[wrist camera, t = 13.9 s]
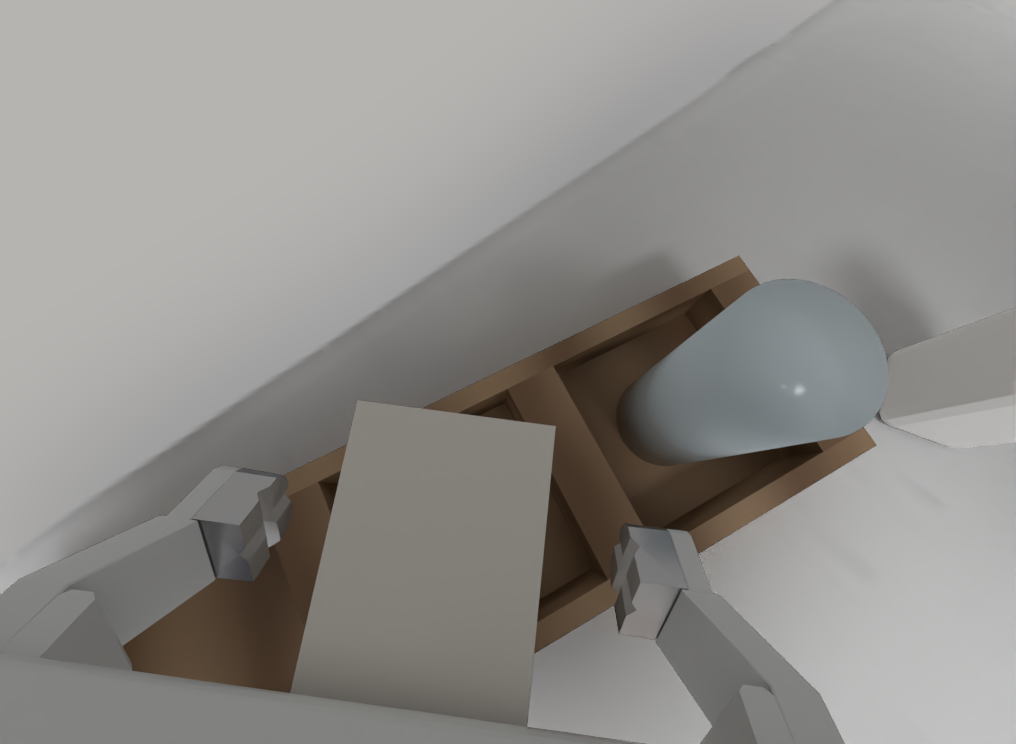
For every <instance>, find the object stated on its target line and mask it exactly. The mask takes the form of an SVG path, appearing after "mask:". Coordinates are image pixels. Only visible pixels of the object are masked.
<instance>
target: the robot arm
mask: <svg viewBox="0 0 1016 744" xmlns="http://www.w3.org/2000/svg"><path fill="white" fill-rule="evenodd" d="M288 488H289V486H288V481H287V477H286V476H283V475H280V474H274V473H268V472H262V471H256V470H250V469H244V468H236V467H230V466H224V465H221V466H218V467H216V468H214V469H213V470H212V471H211V472H210V473H209V474H208V475H207V476H206V477H205V478H204V479H203V480H202V481H201V482H200V483H199V484H198V485H197V486H196V487H195V488H194V489H193V490H192V491H191V492H190V493H189V494H188V495H187V496H186V497H185V498H184V499H183V500H182V501H181V502H180V503H179V504H178V505H177V506H176V507H175V508H174V509H173V510H172V511H171V512H170V513H169V514H168V515H167V516H162V515H159V516H157V517H155V518H153V519H151V520H148V521H146V522H144V523H142V524H139V525H137V526H135V527H133V528H131V529H128V530H126V531H124V532H122V533H120V534H117V535H115V536H113V537H111V538H109V539H106V540H104V541H102V542H100V543H98V544H95V545H93V546H91V547H89V548H87V549H84V550H82V551H80V552H78V553H76V554H73V555H71V556H69V557H67V558H65V559H62V560H60V561H58V562H56V563H53V564H51V565H49V566H47V567H45V568H42V569H40V570H38V571H36V572H34V573H31V574H29V575H27V576H25V577H23V578H20V579H19V580H17V581H16V582H15V583H14V584H13V585H11V586H10V587H9V588H8V589H7V590H6V591H4V592H3V593H2V594H1V595H0V744H644V743H637V742H630V741H623V740H616V739H609V738H602V737H595V736H588V735H581V734H574V733H567V732H560V731H553V730H546V729H539V728H532V727H525V726H518V725H511V724H504V723H497V722H490V721H483V720H476V719H469V718H462V717H455V716H448V715H441V714H434V713H427V712H420V711H413V710H406V709H399V708H392V707H385V706H378V705H371V704H364V703H357V702H349V701H342V700H335V699H328V698H321V697H314V696H307V695H300V694H293V693H286V692H279V691H272V690H265V689H258V688H251V687H244V686H237V685H230V684H223V683H216V682H209V681H202V680H194V679H187V678H180V677H173V676H166V675H159V674H152V673H145V672H138V671H132V663H131V661H130V659H129V657H128V655H127V653H126V652H125V650H124V648H123V645H124V644H126V643H127V642H129V641H130V640H132V639H133V638H134V637H136V636H137V635H139V634H140V633H141V632H143V631H144V630H146V629H147V628H148V627H150V626H151V625H153V624H154V623H155V622H157V621H158V620H160V619H161V618H162V617H164V616H165V615H167V614H168V613H169V612H171V611H172V610H174V609H175V608H176V607H178V606H179V605H181V604H182V603H184V602H185V601H186V600H188V599H189V598H191V597H192V596H193V595H195V594H196V593H198V592H199V591H200V590H202V589H203V588H205V587H206V586H207V585H209V584H210V583H212V582H213V581H214V580H215V578H224V579H233V580H242V581H251V582H254V580H255V579H256V577H257V576H258V574H259V573H260V571H261V570H262V568H263V567H264V565H265V564H266V562H267V560H268V559H269V557H270V553H269V547H270V546H272V545H274V544H275V543H277V542H279V541H280V540H281V539H282V537H283V536H284V534H285V532H286V531H287V528H288V525H289V523H290V520H291V514H292V505H291V500H290V499H289V498H288V497H287V496H286V495H285V494H284V493H285V492H286V490H287V489H288ZM619 539H620V543H619V544H618V545H616V546H614V549H613V552H612V555H611V562H610V580H611V587H612V589H613V590H614V591H615V592H616V594H617V595H618V597H617V600H616V602H615V605H614V607H615V613H616V619H617V625H618V631H619V634H623V635H629V636H635V637H641V638H647V639H653V640H657V641H656V643H657V645H658V646H659V648H660V649H661V650H662V652H663V653H664V655H665V656H666V658H667V659H668V661H669V662H670V664H671V665H672V667H673V668H674V670H675V671H676V673H677V674H678V676H679V677H680V679H681V680H682V682H683V683H684V684H685V686H686V687H687V689H688V690H689V692H690V693H691V695H692V696H693V698H694V699H695V701H696V702H697V704H698V705H699V707H700V708H701V710H702V711H703V713H704V714H705V715H706V717H707V718H708V720H709V721H710V723H711V724H712V726H713V727H712V728H711V729H710V731H709V732H708V734H707V735H706V736H705V738H704V739H703V741H702V742H701V743H700V744H845V743H844V741H843V739H842V737H841V735H840V733H839V731H838V729H837V727H836V725H835V723H834V721H833V719H832V717H831V715H830V713H829V711H828V709H827V707H826V705H825V703H824V701H823V699H822V697H821V695H820V693H819V692H818V691H817V690H816V689H814V688H813V687H812V686H811V685H810V684H809V683H808V682H807V681H806V680H805V679H804V678H803V677H802V676H801V675H800V674H799V673H798V672H797V671H796V670H795V669H794V668H793V667H792V666H791V665H790V664H789V663H788V662H787V661H786V660H785V659H784V658H783V657H782V656H781V655H780V654H779V653H778V652H777V651H776V650H775V649H774V648H773V647H772V646H771V645H770V644H769V643H768V642H767V641H766V640H765V639H764V638H763V637H762V636H761V635H760V634H759V633H758V632H757V631H756V630H755V629H754V628H753V627H752V626H751V625H750V624H749V623H748V622H747V621H746V620H745V619H744V618H743V617H742V616H741V615H740V614H739V613H738V612H737V611H736V610H735V609H734V608H733V607H732V606H731V605H730V604H729V603H728V602H727V601H726V600H725V599H724V598H722V597H721V596H720V595H718V594H713V592H712V589H711V587H710V584H709V581H708V579H707V576H706V574H705V571H704V568H703V566H702V563H701V561H700V558H699V555H698V553H697V550H696V547H695V545H694V542H693V540H692V537H691V535H690V534H689V533H688V532H687V531H681V530H673V529H664V528H658V527H651V526H643V525H635V524H628V523H624V524H623V525H622V526H621V529H620V532H619Z"/></svg>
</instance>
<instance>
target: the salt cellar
mask: <svg viewBox="0 0 1016 744" xmlns="http://www.w3.org/2000/svg"><path fill="white" fill-rule="evenodd" d="M888 381H889V369H888V362H887V357H886V354H885V350H884V347H883V345H882V342H881V340H880V338H879V336H878V334H877V332H876V331H875V329H874V327H873V326H872V325H871V323H870V322H869V320H868V319H867V318H866V317H865V316H864V314H863V313H862V312H861V311H860V310H859V309H858V308H857V307H856V306H854V305H853V304H852V303H851V302H850V301H848V300H847V299H846V298H844V297H843V296H841V295H840V294H838V293H836V292H835V291H833V290H831V289H829V288H826V287H824V286H822V285H819V284H816V283H813V282H808V281H804V280H796V279H781V280H773V281H769V282H766V283H763V284H760V285H758V286H756V287H754V288H752V289H751V290H749V291H747V292H746V293H745V294H744V295H742V296H741V297H740V298H739V299H737V300H736V301H735V302H734V303H732V304H731V305H730V306H728V307H727V308H726V309H725V310H723V311H722V312H721V313H720V314H718V315H717V316H716V317H715V318H713V319H712V320H711V321H710V322H708V323H707V324H706V325H705V326H703V327H702V328H701V329H700V330H698V331H697V332H696V333H695V334H693V335H692V336H691V337H690V338H688V339H687V340H686V341H685V342H683V343H682V344H681V345H680V346H678V347H677V348H676V349H675V350H673V351H672V352H671V353H670V354H668V355H667V356H666V357H665V358H663V359H662V360H661V361H660V362H658V363H657V364H656V365H655V366H653V367H652V368H651V369H650V370H648V371H647V372H646V373H644V374H643V375H642V376H641V377H639V378H638V379H637V380H636V381H634V382H633V383H632V384H631V385H630V386H628V387H627V389H626V390H625V391H624V392H623V394H622V395H621V397H620V399H619V402H618V405H617V411H616V421H617V427H618V431H619V433H620V436H621V438H622V440H623V442H624V443H625V444H626V446H627V447H628V448H629V449H630V451H631V452H633V453H634V454H635V455H636V456H637V457H639V458H640V459H642V460H644V461H646V462H648V463H650V464H654V465H658V466H675V465H681V464H687V463H692V462H698V461H704V460H710V459H716V458H722V457H728V456H734V455H739V454H745V453H751V452H757V451H763V450H769V449H775V448H781V447H786V446H792V445H798V444H804V443H810V442H816V441H822V440H828V439H833V438H839V437H843V436H846V435H849V434H851V433H853V432H855V431H857V430H859V429H861V428H862V427H864V426H865V425H866V424H868V423H869V422H870V421H871V420H872V419H873V418H874V417H875V415H876V414H877V412H878V411H879V409H880V408H881V406H882V404H883V402H884V399H885V396H886V393H887V388H888Z"/></svg>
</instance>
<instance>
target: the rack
mask: <svg viewBox="0 0 1016 744" xmlns="http://www.w3.org/2000/svg"><path fill="white" fill-rule="evenodd" d="M758 285H760V284H759V283H758V281H757V280H756V278H755V277H754V276H753V274H752V273H751V272H750V270H749V269H748V267H747V266H746V265H745V263H744V262H743V261H742V259H741V258H740V256H737V257H735V258H733V259H731V260H729V261H727V262H725V263H723V264H721V265H719V266H717V267H715V268H712V269H710V270H708V271H706V272H704V273H702V274H700V275H698V276H696V277H694V278H692V279H690V280H688V281H686V282H683V283H681V284H679V285H677V286H675V287H673V288H671V289H669V290H667V291H665V292H663V293H661V294H659V295H656V296H654V297H652V298H650V299H648V300H646V301H644V302H642V303H640V304H638V305H636V306H634V307H632V308H630V309H627V310H625V311H623V312H621V313H619V314H617V315H615V316H613V317H611V318H609V319H607V320H605V321H603V322H600V323H598V324H596V325H594V326H592V327H590V328H588V329H586V330H584V331H582V332H580V333H578V334H576V335H574V336H571V337H569V338H567V339H565V340H563V341H561V342H559V343H557V344H555V345H553V346H551V347H549V348H547V349H544V350H542V351H540V352H538V353H536V354H534V355H532V356H530V357H528V358H526V359H524V360H522V361H520V362H518V363H515V364H513V365H511V366H509V367H507V368H505V369H503V370H501V371H499V372H497V373H495V374H493V375H491V376H488V377H486V378H484V379H482V380H480V381H478V382H476V383H474V384H472V385H470V386H468V387H466V388H464V389H461V390H459V391H457V392H455V393H453V394H451V395H449V396H447V397H445V398H443V399H441V400H439V401H437V402H435V403H432V404H430V405H428V406H426V407H424V408H422V409H429V410H437V411H444V412H452V413H460V414H467V415H475V416H482V417H490V418H497V419H505V420H513V421H520V422H528V423H535V424H543V425H551V426H556V429H555V439H554V450H553V460H552V471H551V481H550V492H549V502H548V513H547V523H546V533H545V544H544V554H543V565H542V575H541V586H540V596H539V607H538V617H537V628H536V638H535V649H534V653H536V652H538V651H539V650H541V649H543V648H544V647H546V646H548V645H549V644H551V643H553V642H554V641H556V640H557V639H559V638H561V637H562V636H564V635H566V634H567V633H569V632H571V631H572V630H574V629H576V628H577V627H579V626H580V625H582V624H584V623H585V622H587V621H589V620H590V619H592V618H594V617H595V616H597V615H599V614H600V613H602V612H603V611H605V610H607V609H608V608H610V607H612V606H613V605H615V602H616V600H617V597H618V595H617V594H616V592H615V591H614V590H613V589H612V587H611V580H610V562H611V555H612V552H613V549H614V546H616V545H618V544H619V543H620V539H619V532H620V529H621V526H622V525H623V524H624V523H628V524H635V525H643V526H651V527H658V528H664V529H673V530H681V531H687V532H688V533H689V534H690V535H691V537H692V540H693V542H694V545H695V547H696V550H697V553H698V554H699V553H700V552H702V551H704V550H705V549H707V548H709V547H710V546H712V545H714V544H715V543H717V542H718V541H720V540H722V539H723V538H725V537H727V536H728V535H730V534H732V533H733V532H735V531H737V530H738V529H740V528H741V527H743V526H745V525H746V524H748V523H750V522H751V521H753V520H755V519H756V518H758V517H760V516H761V515H763V514H764V513H766V512H768V511H769V510H771V509H773V508H774V507H776V506H778V505H779V504H781V503H783V502H784V501H786V500H787V499H789V498H791V497H792V496H794V495H796V494H797V493H799V492H801V491H802V490H804V489H806V488H807V487H809V486H810V485H812V484H814V483H815V482H817V481H819V480H820V479H822V478H824V477H825V476H827V475H829V474H830V473H832V472H833V471H835V470H837V469H838V468H840V467H842V466H843V465H845V464H847V463H848V462H850V461H852V460H853V459H855V458H856V457H858V456H860V455H861V454H863V453H865V452H866V451H868V450H870V449H871V448H873V447H875V446H876V444H875V442H874V441H873V439H872V438H871V437H870V435H869V434H868V433H867V431H866V430H865V428H864V427H862V428H861V429H859V430H857V431H855V432H853V433H851V434H849V435H846V436H843V437H839V438H833V439H828V440H822V441H816V442H810V443H804V444H798V445H792V446H786V447H781V448H775V449H769V450H763V451H757V452H751V453H745V454H739V455H734V456H728V457H722V458H716V459H710V460H704V461H698V462H692V463H687V464H681V465H675V466H658V465H654V464H650V463H648V462H646V461H644V460H642V459H640V458H639V457H637V456H636V455H635V454H634V453H633V452H631V451H630V449H629V448H628V447H627V446H626V444H625V443H624V442H623V440H622V438H621V436H620V433H619V431H618V427H617V421H616V411H617V405H618V402H619V399H620V397H621V395H622V394H623V392H624V391H625V390H626V389H627V387H628V386H630V385H631V384H632V383H633V382H634V381H636V380H637V379H638V378H639V377H641V376H642V375H643V374H644V373H646V372H647V371H648V370H650V369H651V368H652V367H653V366H655V365H656V364H657V363H658V362H660V361H661V360H662V359H663V358H665V357H666V356H667V355H668V354H670V353H671V352H672V351H673V350H675V349H676V348H677V347H678V346H680V345H681V344H682V343H683V342H685V341H686V340H687V339H688V338H690V337H691V336H692V335H693V334H695V333H696V332H697V331H698V330H700V329H701V328H702V327H703V326H705V325H706V324H707V323H708V322H710V321H711V320H712V319H713V318H715V317H716V316H717V315H718V314H720V313H721V312H722V311H723V310H725V309H726V308H727V307H728V306H730V305H731V304H732V303H734V302H735V301H736V300H737V299H739V298H740V297H741V296H742V295H744V294H745V293H746V292H747V291H749V290H751V289H752V288H754V287H756V286H758ZM346 447H347V445H345V446H343V447H341V448H339V449H337V450H335V451H333V452H331V453H329V454H327V455H325V456H323V457H320V458H318V459H316V460H314V461H312V462H310V463H308V464H306V465H304V466H302V467H300V468H298V469H296V470H293V471H291V472H289V473H287V474H285V475H283V476H286V477H287V481H288V486H289V488H288V489H287V490H286V492H285V493H284V494H285V495H286V496H287V497H288V498H289V499H290V500H291V505H292V514H291V520H290V523H289V525H288V528H287V531H286V532H285V534H284V536H283V537H282V539H281V540H280V541H279V542H277V543H275V544H274V545H272V546H270V547H269V553H270V557H269V559H268V560H267V562H266V564H265V565H264V567H263V568H262V570H261V571H260V573H259V574H258V576H257V577H256V579H255V580H254V582H251V581H242V580H233V579H224V578H215V580H214V581H213V582H212V583H210V584H209V585H207V586H206V587H205V588H203V589H202V590H200V591H199V592H198V593H196V594H195V595H193V596H192V597H191V598H189V599H188V600H186V601H185V602H184V603H182V604H181V605H179V606H178V607H176V608H175V609H174V610H172V611H171V612H169V613H168V614H167V615H165V616H164V617H162V618H161V619H160V620H158V621H157V622H155V623H154V624H153V625H151V626H150V627H148V628H147V629H146V630H144V631H143V632H141V633H140V634H139V635H137V636H136V637H134V638H133V639H132V640H130V641H129V642H127V643H126V644H124V645H123V648H124V650H125V652H126V653H127V655H128V657H129V659H130V661H131V663H132V671H138V672H145V673H152V674H159V675H166V676H173V677H180V678H187V679H194V680H202V681H209V682H216V683H223V684H230V685H237V686H244V687H251V688H258V689H265V690H272V691H279V692H286V693H290V691H291V687H292V683H293V678H294V674H295V670H296V665H297V661H298V657H299V652H300V648H301V643H302V639H303V635H304V630H305V626H306V622H307V617H308V613H309V609H310V604H311V600H312V595H313V591H314V587H315V582H316V578H317V574H318V569H319V565H320V561H321V556H322V552H323V547H324V543H325V539H326V534H327V530H328V526H329V521H330V517H331V513H332V508H333V504H334V499H335V495H336V491H337V486H338V482H339V478H340V473H341V469H342V464H343V460H344V456H345V451H346Z"/></svg>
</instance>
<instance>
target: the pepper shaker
mask: <svg viewBox="0 0 1016 744" xmlns="http://www.w3.org/2000/svg"><path fill="white" fill-rule="evenodd" d="M887 362H888V369H889V381H888V388H887V393H886V396H885V399H884V402H883V404H882V406H881V408H880V416H881V419H882V421H883V422H885V423H886V424H887V425H890V426H893V427H895V428H898V429H901V430H904V431H906V432H909V433H912V434H914V435H917V436H920V437H923V438H925V439H928V440H931V441H934V442H936V443H939V444H942V445H945V446H948V447H951V448H971V447H981V446H990V445H999V444H1009V443H1016V308H1013V309H1010V310H1008V311H1005V312H1002V313H999V314H997V315H994V316H991V317H988V318H985V319H983V320H980V321H977V322H974V323H972V324H969V325H966V326H963V327H961V328H958V329H955V330H952V331H950V332H947V333H944V334H941V335H939V336H936V337H933V338H930V339H928V340H925V341H922V342H919V343H916V344H914V345H911V346H908V347H905V348H903V349H900V350H897V351H895V352H894V353H893V354H891V355H890V357H889V358H888V360H887Z"/></svg>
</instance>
